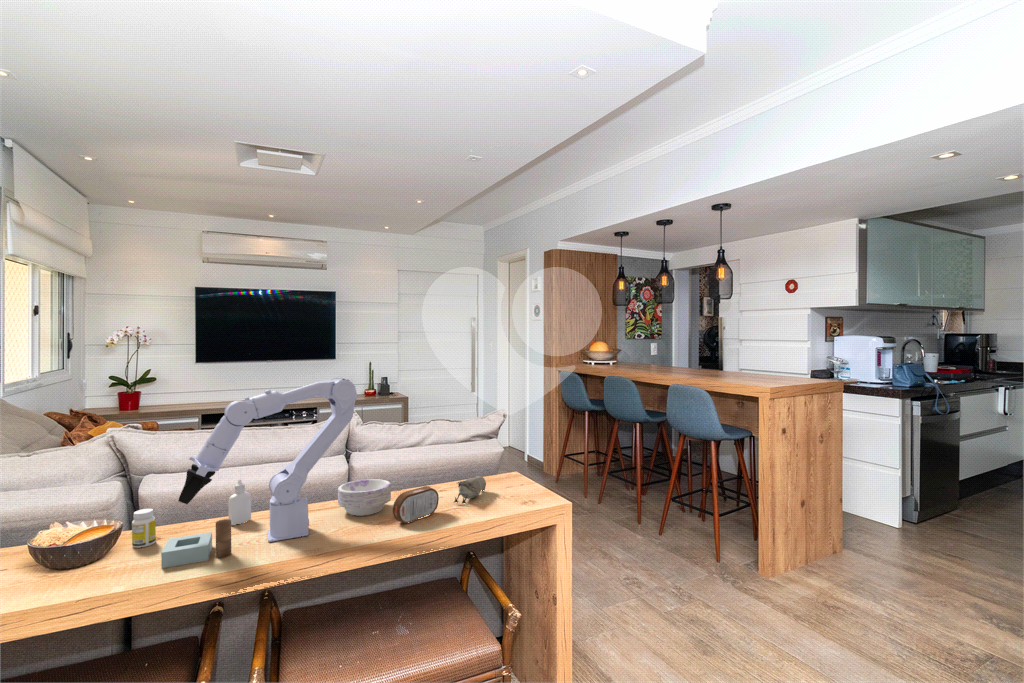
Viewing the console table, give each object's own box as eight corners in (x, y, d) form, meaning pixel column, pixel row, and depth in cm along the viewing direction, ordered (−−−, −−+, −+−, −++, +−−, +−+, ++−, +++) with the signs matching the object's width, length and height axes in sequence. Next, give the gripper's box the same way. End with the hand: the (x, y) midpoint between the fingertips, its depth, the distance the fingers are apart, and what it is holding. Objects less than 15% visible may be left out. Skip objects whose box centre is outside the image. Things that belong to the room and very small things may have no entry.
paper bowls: (364, 500, 158) (364, 475, 158) (401, 507, 151) (401, 481, 151) (326, 515, 145) (326, 488, 145) (365, 523, 138) (364, 495, 138)
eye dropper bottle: (228, 522, 140) (227, 479, 140) (250, 518, 143) (250, 476, 143) (229, 527, 136) (228, 483, 136) (252, 522, 139) (251, 480, 139)
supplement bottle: (152, 539, 128) (152, 506, 128) (158, 543, 125) (158, 510, 125) (129, 545, 124) (129, 511, 124) (135, 550, 121) (134, 515, 121)
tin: (433, 510, 148) (433, 482, 148) (440, 513, 146) (440, 484, 146) (391, 525, 136) (391, 494, 136) (398, 528, 134) (398, 497, 134)
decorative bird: (490, 492, 165) (490, 470, 165) (466, 507, 151) (466, 483, 151) (476, 491, 167) (476, 468, 167) (451, 505, 153) (450, 481, 153)
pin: (231, 551, 120) (231, 518, 120) (231, 556, 117) (230, 522, 117) (216, 554, 119) (216, 520, 119) (215, 559, 116) (215, 524, 116)
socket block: (212, 546, 123) (211, 532, 123) (208, 560, 115) (208, 545, 115) (168, 553, 119) (168, 538, 119) (161, 568, 111) (161, 552, 111)
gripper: (204, 436, 127) (172, 486, 123) (198, 442, 114) (162, 499, 110) (231, 447, 129) (200, 497, 126) (229, 455, 117) (194, 510, 113)
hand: (184, 499), depth 118 cm, fingers open, 7 cm apart
